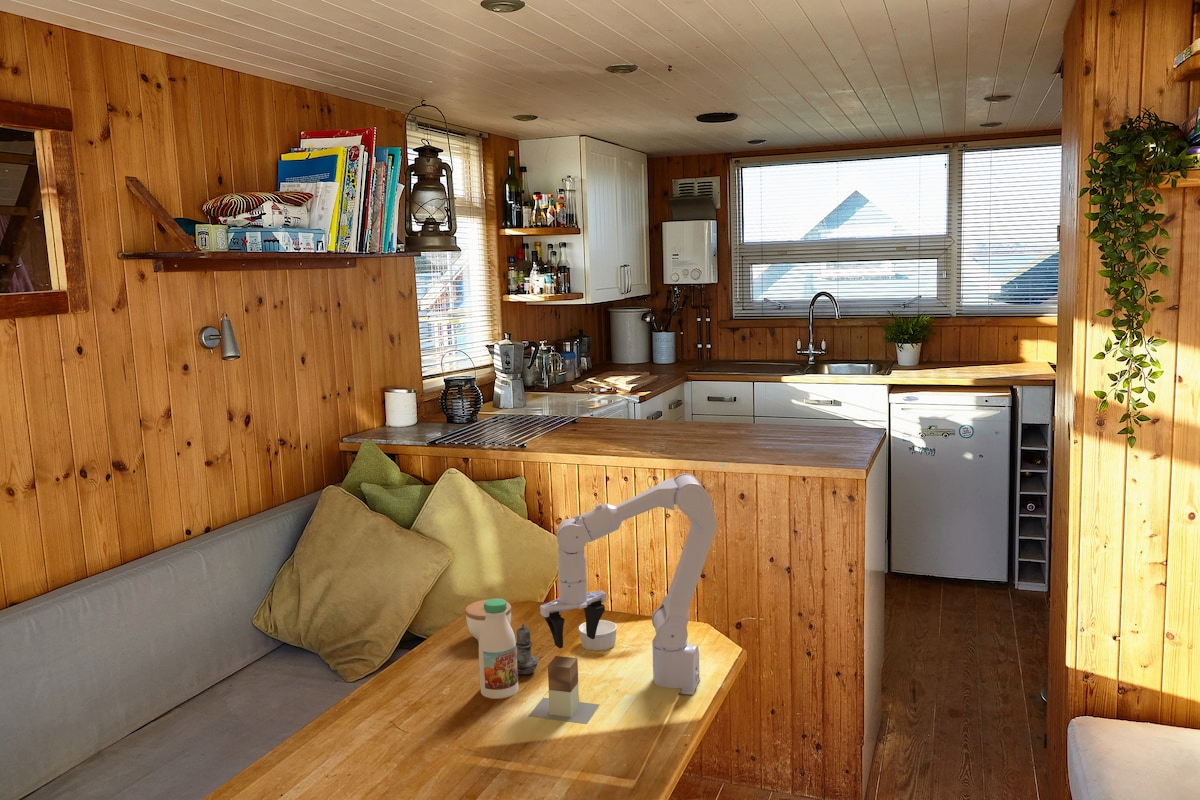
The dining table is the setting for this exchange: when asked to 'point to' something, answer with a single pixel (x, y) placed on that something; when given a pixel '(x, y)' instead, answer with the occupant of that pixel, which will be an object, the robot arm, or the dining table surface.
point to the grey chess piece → (525, 652)
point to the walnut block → (563, 673)
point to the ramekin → (599, 636)
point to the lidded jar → (480, 617)
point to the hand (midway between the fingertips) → (575, 642)
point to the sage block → (563, 702)
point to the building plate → (579, 716)
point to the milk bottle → (497, 653)
